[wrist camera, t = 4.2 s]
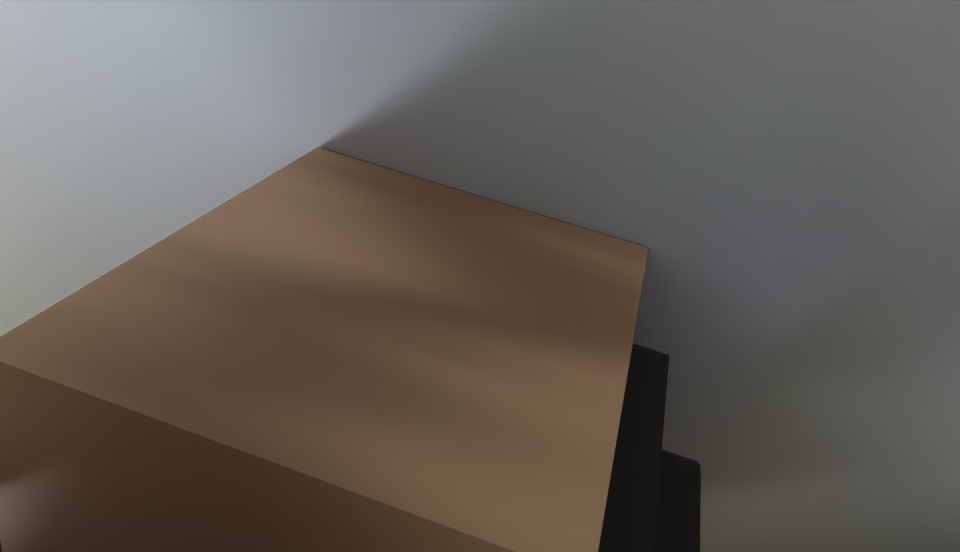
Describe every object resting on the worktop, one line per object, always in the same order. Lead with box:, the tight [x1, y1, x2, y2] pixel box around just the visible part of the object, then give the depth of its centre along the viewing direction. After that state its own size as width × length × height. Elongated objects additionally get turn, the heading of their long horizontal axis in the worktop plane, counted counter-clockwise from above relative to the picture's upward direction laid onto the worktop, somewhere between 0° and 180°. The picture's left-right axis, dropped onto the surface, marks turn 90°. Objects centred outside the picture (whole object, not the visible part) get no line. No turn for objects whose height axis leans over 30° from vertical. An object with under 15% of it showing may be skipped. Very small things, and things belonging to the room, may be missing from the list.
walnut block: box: [0, 147, 648, 552], centre depth 9 cm, size 5×5×6 cm
